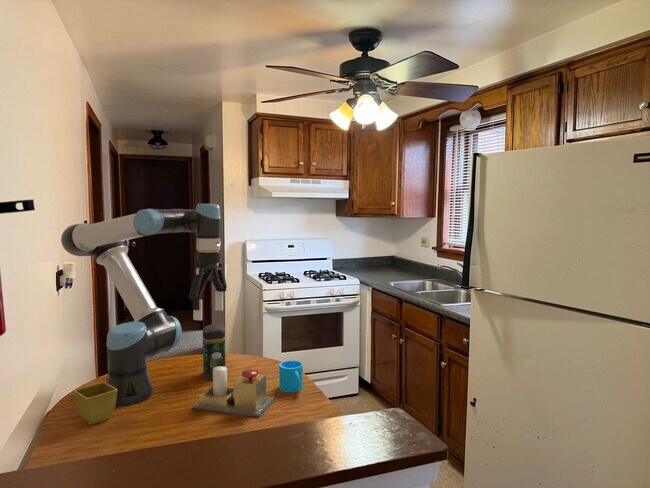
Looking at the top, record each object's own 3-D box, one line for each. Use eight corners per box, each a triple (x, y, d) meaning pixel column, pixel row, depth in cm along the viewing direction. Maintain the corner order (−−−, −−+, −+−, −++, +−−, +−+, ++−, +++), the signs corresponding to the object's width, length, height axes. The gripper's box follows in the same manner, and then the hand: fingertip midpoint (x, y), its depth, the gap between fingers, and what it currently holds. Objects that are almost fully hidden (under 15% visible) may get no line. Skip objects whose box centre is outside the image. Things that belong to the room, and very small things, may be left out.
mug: (276, 385, 154) (276, 362, 154) (297, 381, 158) (297, 359, 157) (287, 398, 143) (287, 374, 143) (310, 394, 147) (310, 370, 146)
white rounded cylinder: (210, 401, 138) (210, 370, 137) (217, 395, 142) (217, 365, 142) (223, 403, 137) (223, 372, 136) (229, 397, 141) (229, 367, 141)
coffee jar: (201, 372, 165) (201, 324, 164) (222, 369, 168) (222, 322, 167) (205, 381, 156) (204, 330, 155) (227, 378, 160) (227, 328, 158)
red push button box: (193, 408, 136) (192, 373, 135) (212, 392, 147) (212, 360, 146) (259, 417, 130) (259, 381, 129) (274, 400, 142) (274, 367, 141)
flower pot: (105, 409, 134) (104, 381, 133) (119, 418, 128) (118, 388, 128) (74, 420, 127) (73, 390, 126) (87, 430, 122) (86, 398, 121)
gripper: (198, 255, 130) (198, 325, 132) (236, 248, 154) (236, 307, 156) (176, 254, 132) (176, 323, 134) (217, 247, 156) (217, 306, 158)
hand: (209, 315), depth 145 cm, fingers open, 13 cm apart
